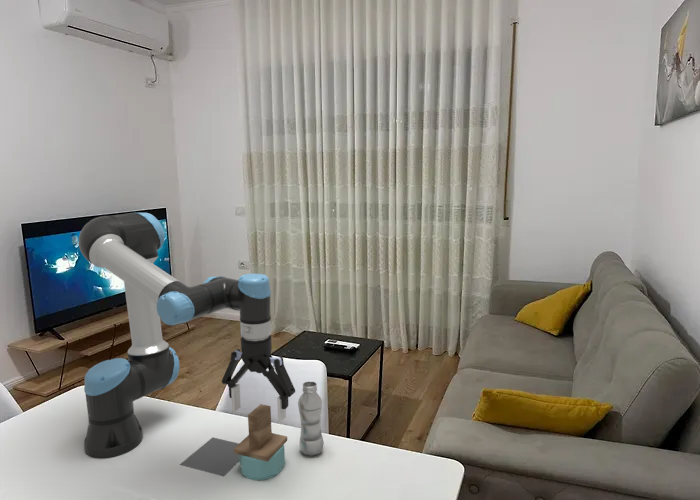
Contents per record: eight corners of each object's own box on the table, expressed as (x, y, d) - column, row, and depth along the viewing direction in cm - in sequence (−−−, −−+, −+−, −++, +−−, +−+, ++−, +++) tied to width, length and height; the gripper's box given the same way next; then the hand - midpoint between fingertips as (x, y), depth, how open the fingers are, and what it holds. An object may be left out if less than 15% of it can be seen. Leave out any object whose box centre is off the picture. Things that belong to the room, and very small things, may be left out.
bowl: (232, 475, 127) (231, 453, 126) (255, 451, 137) (254, 432, 136) (269, 485, 123) (268, 463, 122) (290, 460, 133) (290, 439, 132)
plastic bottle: (320, 460, 133) (318, 390, 130) (296, 457, 134) (294, 388, 131) (326, 446, 139) (325, 380, 136) (303, 444, 141) (301, 378, 137)
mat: (179, 465, 131) (179, 464, 131) (212, 438, 144) (212, 437, 144) (223, 477, 126) (223, 476, 126) (253, 448, 139) (253, 447, 139)
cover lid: (233, 453, 126) (231, 416, 125) (255, 433, 135) (253, 398, 134) (267, 461, 123) (266, 423, 121) (287, 440, 132) (286, 404, 130)
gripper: (205, 334, 125) (209, 412, 129) (293, 348, 116) (294, 431, 120) (223, 325, 132) (226, 399, 136) (307, 337, 123) (308, 416, 127)
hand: (258, 414), depth 128 cm, fingers open, 13 cm apart
